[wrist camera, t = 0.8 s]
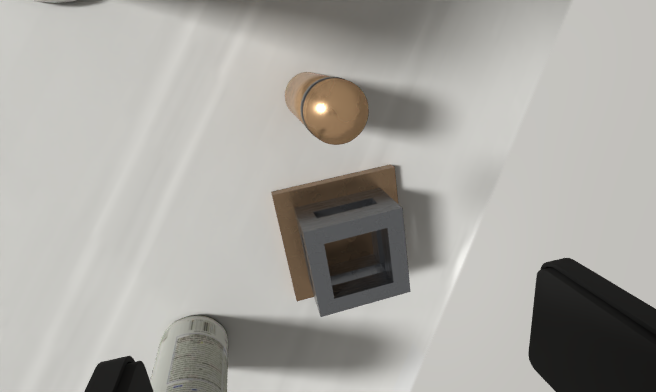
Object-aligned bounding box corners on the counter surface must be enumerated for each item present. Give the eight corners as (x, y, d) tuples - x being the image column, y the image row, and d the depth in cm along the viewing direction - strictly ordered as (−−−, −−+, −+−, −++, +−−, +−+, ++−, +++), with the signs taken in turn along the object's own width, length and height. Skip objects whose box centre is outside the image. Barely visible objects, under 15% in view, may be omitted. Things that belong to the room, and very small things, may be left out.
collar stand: (271, 191, 36) (278, 218, 30) (390, 164, 38) (419, 184, 32) (295, 295, 40) (305, 337, 34) (401, 266, 42) (428, 301, 36)
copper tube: (280, 76, 33) (299, 85, 23) (326, 67, 33) (364, 72, 23) (289, 123, 34) (311, 151, 24) (333, 114, 35) (372, 138, 25)
